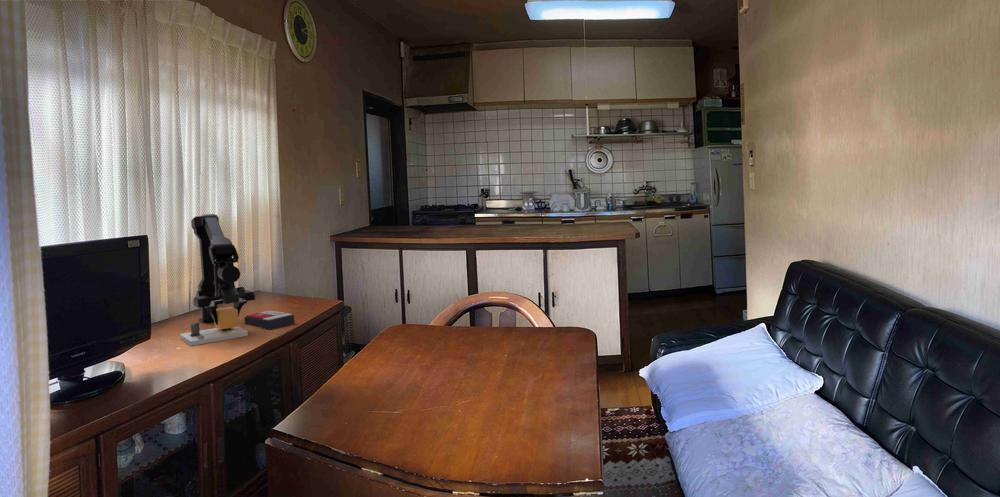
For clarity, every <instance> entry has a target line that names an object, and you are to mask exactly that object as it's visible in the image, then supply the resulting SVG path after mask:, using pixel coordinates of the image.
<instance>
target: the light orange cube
mask: <svg viewBox="0 0 1000 497" xmlns="http://www.w3.org/2000/svg"><path fill="white" fill-rule="evenodd" d="M216 312H217V319H218V325H216V324H215V322H214V321H213V323H214V324H213V325H214V328H219V329H226V328H232V327H240V326H239V325H240V324H239V316H238V309H236V308H234V306H227V307H220V308H219V307H218V309H216Z"/></svg>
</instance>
